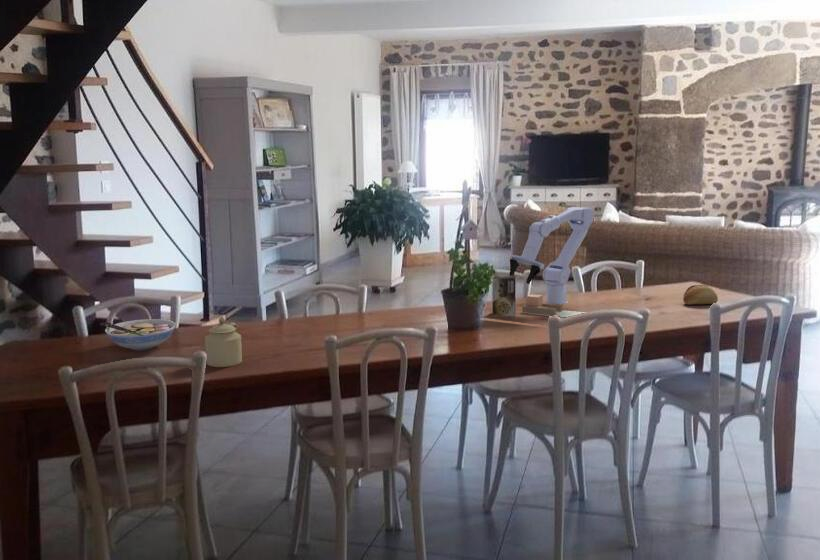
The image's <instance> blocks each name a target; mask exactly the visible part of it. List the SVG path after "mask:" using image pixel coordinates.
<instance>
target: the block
mask: <svg viewBox="0 0 820 560" xmlns="http://www.w3.org/2000/svg"><path fill="white" fill-rule="evenodd" d="M543 297H544V296H543V295H542V294H541V295H540V294H528V295H526V304H525V305H530V306H539V307H542V303H543V302H544V301H543Z"/></svg>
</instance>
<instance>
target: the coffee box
mask: <svg viewBox="0 0 820 560" xmlns="http://www.w3.org/2000/svg"><path fill="white" fill-rule="evenodd" d="M493 275H494V274H493ZM516 281H517V279H516V276H515V274H514V275H509V274H506V275H505V274H504V275H503V274H502V275H501V274H498V275H496V274H495V275H494V278H493V283H492V282H491V283H492V284H491V290H492V291H491V293H492V294H491V297H492V298H491V299H492V300H491V304H492V305H491V307H492V310H491V312H492V313H491V314H492V317H516V310H517V309H516V305H517V304H516Z"/></svg>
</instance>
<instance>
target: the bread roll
mask: <svg viewBox="0 0 820 560" xmlns="http://www.w3.org/2000/svg"><path fill="white" fill-rule="evenodd" d="M682 300H683V303H684V304H685V305H689V306H690V305H713V304H712V303H715V304H716V303H717V302H718V300H719V299H718V295H717V293H716V291H715V289H713V288H711V287H709V286H708V285H705V284H703V285H702V284H697V285H696V284H695V285H691V286H689V287H688V288H686V290H685V292H684V293H683V298H682Z"/></svg>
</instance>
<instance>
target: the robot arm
mask: <svg viewBox="0 0 820 560" xmlns="http://www.w3.org/2000/svg"><path fill="white" fill-rule="evenodd" d="M594 219H595V217H594V211H593V209H592V208H591V207H584V206H583V207H582V206H574V205H573V206H570V207H567V209H566V210H565V211H563V212H561V213H560V214H558V215H553V214H549V215H548V216H547V217H546V218H545V219H544V218H541V220H540V221H539V222H537V221H535V222H533V223H531V225H529V228H528V229H529V232H528V238H527V241H526V243H525V246H524V248H523V251H522V254H521V255H515V254H510V255H509V257H508V260H509V274H508V275H515V272H516V271H517V269H518V268H519V266H520V263H521V264H524V265H528V266H530V271H529V273H528V277H527V278H526V281H525V283H526V284H528V285H530V284H531V282H532V281H533V279H534V278H535V277H536V276H537V275H538V274H540V273H541V270H543V272H542V280H543V281H544V282H545V284H546V299H545V300H546V301H545V303H553V304H563V305H564V304H569V301H567V287H566V284H567V283H568V281H569V278H570V274H571V272H572V271H571V268H570V267H569V266H570V264H571V262H572V260H573V258H574V257H575V255H576V253H577V252H578V250H579V247H580V246H581V244H582V243H583V241H584V239H585V238H586V236H587V234H588V231H589V229H590V227H591V224H592V223H593V221H594ZM565 222H568V223H569V225H570V226H569V227H570V229H572V230H573V231H572V233H571V234H570V236H569V237H568V239H567V241H566V243H565V245H564V246H563V248H562V249H561V252H559V255H558V257H557V258H556V260H554V261H552V262H550V263H548V266H547V267H546V268H544V267H545V264H544V263H542V262H539V261H538V260H537V261H536V259H537V256H538V254H539V252H540V249H541V247H542V243H543V241H544V238H547V237H549V235H550V234H551V232H554V231H555V230H557V229H559V228H560V227H561V224H564V223H565Z"/></svg>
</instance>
